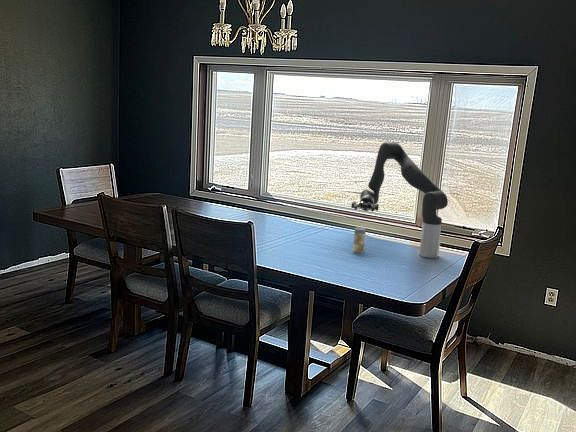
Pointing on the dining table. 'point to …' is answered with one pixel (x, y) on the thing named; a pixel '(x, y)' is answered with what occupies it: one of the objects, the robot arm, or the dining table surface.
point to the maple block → (359, 240)
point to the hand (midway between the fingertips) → (364, 208)
